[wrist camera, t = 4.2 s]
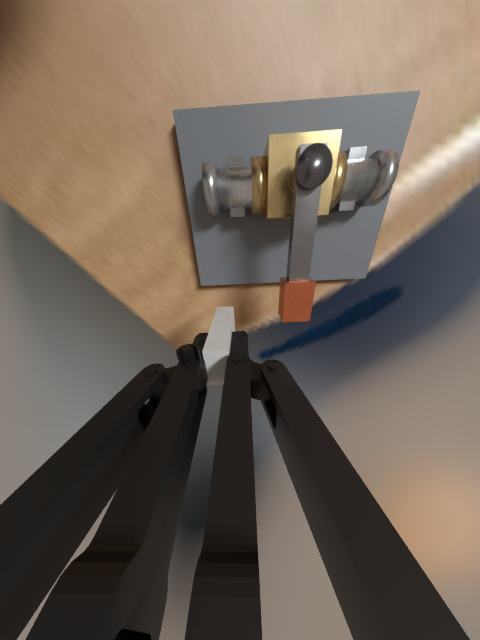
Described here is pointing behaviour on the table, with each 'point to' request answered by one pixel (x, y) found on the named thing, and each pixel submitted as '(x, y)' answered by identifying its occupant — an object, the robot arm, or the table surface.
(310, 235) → the valve lever
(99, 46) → the table surface
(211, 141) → the mounting board
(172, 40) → the table surface
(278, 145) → the valve pipe
